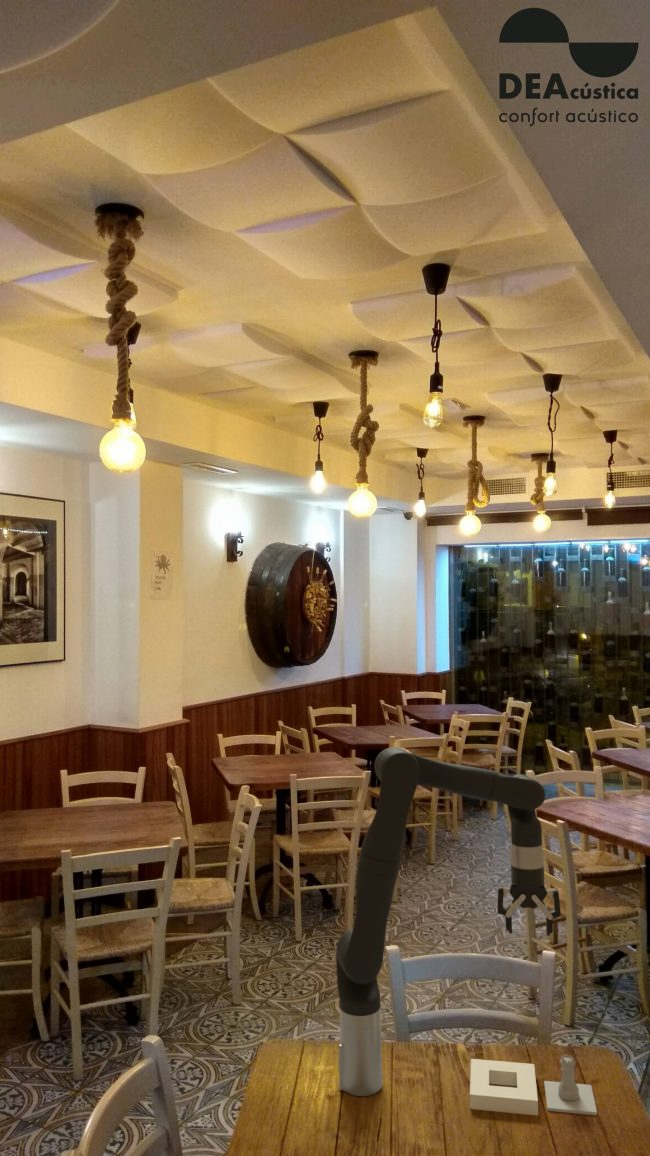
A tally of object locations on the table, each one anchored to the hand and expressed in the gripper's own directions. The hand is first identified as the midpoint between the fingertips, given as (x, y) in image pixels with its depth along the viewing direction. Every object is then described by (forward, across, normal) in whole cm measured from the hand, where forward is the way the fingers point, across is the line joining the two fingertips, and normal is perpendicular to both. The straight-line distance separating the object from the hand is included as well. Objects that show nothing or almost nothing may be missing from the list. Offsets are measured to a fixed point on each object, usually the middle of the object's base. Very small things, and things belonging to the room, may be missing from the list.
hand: (529, 933), depth 190 cm
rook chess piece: (+30, +7, -12) cm, 33 cm away
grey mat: (+30, +7, -12) cm, 33 cm away
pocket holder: (+30, -7, -12) cm, 33 cm away
